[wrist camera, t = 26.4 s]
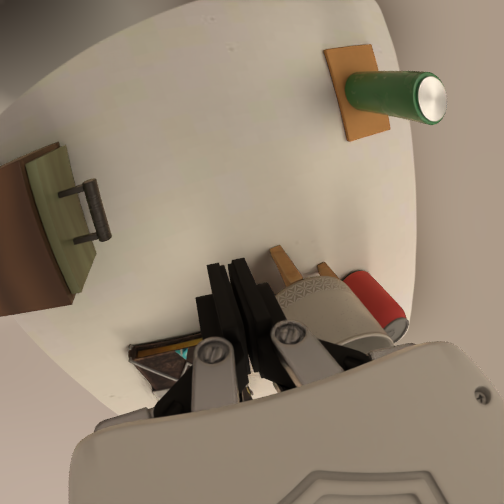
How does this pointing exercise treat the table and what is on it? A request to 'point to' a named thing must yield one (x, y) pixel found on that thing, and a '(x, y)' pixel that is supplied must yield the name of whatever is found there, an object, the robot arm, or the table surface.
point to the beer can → (378, 303)
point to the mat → (341, 68)
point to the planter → (328, 307)
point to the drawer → (67, 215)
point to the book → (168, 363)
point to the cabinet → (26, 246)
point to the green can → (398, 94)
